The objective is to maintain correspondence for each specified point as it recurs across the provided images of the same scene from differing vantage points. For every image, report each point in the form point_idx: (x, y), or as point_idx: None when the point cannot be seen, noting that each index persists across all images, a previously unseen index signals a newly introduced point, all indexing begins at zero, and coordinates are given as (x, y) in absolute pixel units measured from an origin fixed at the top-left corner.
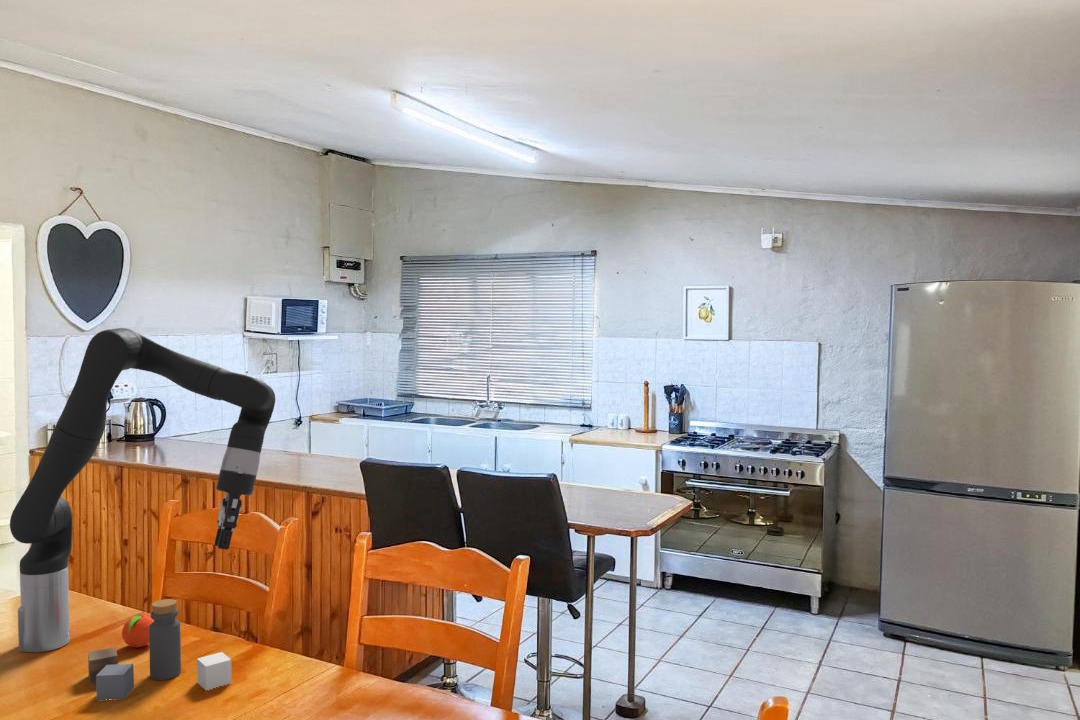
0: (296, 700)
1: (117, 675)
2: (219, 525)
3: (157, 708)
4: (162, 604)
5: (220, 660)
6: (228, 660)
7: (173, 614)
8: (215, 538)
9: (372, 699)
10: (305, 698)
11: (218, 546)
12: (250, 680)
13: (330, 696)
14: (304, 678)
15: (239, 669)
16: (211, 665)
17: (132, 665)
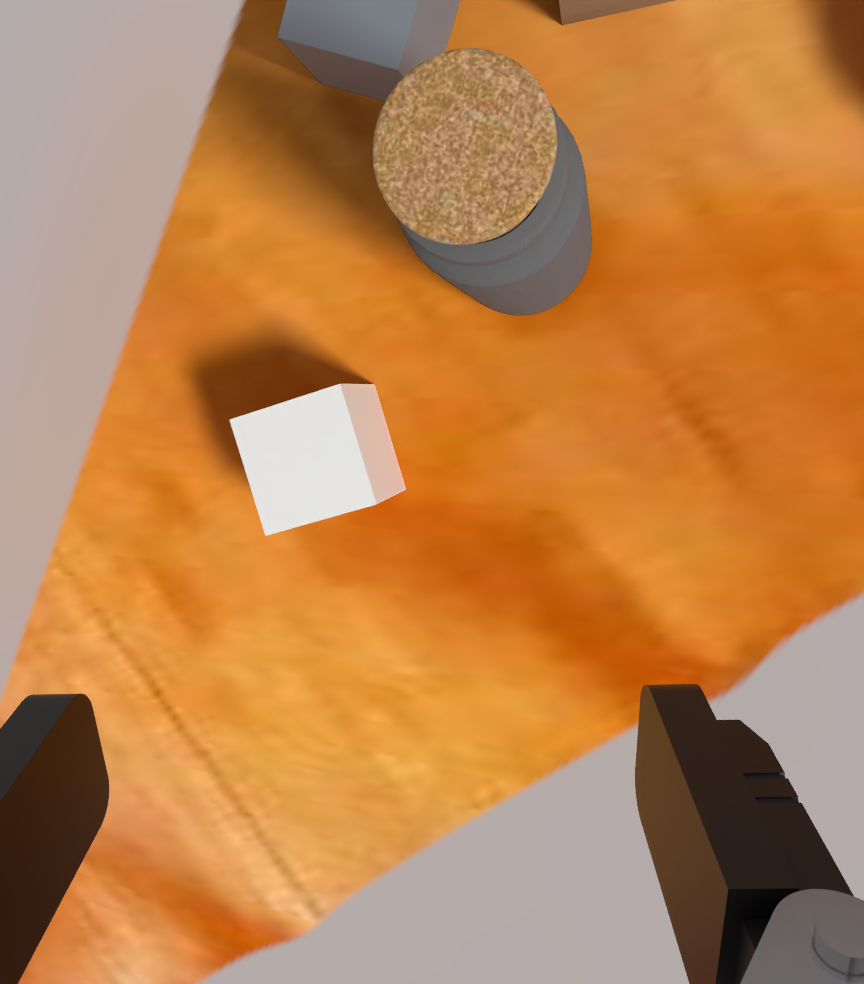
0: None
1: (285, 8)
2: (755, 956)
3: (189, 228)
4: (424, 135)
5: (274, 488)
6: (263, 522)
7: (408, 233)
8: (720, 739)
9: None
10: None
11: (30, 705)
12: (308, 591)
13: None
14: (246, 783)
15: (440, 564)
16: (237, 444)
17: (386, 68)
